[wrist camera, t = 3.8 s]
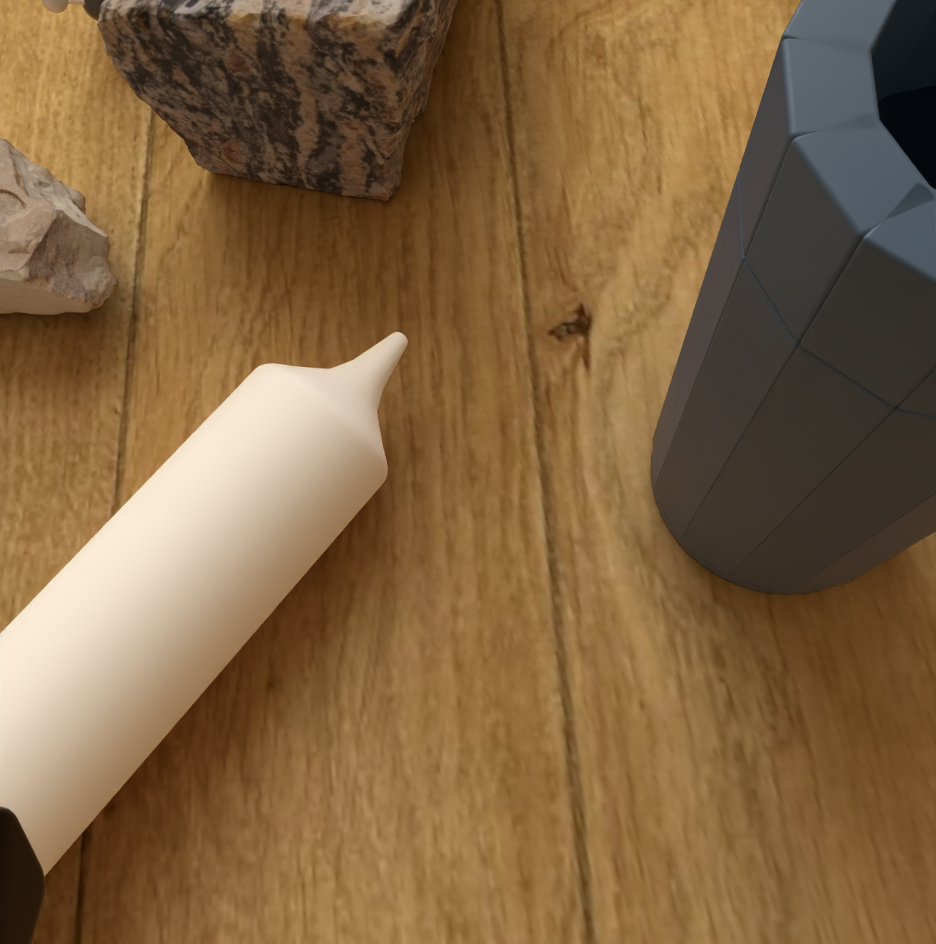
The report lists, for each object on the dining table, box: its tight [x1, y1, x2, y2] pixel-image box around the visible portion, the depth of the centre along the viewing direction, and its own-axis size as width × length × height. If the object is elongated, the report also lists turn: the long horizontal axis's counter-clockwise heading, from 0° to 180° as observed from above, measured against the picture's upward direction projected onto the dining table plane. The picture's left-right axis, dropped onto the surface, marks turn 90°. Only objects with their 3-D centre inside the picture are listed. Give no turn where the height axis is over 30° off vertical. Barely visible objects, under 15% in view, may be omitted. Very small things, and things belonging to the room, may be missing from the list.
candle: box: [0, 332, 408, 877], centre depth 19 cm, size 7×7×25 cm
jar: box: [651, 0, 936, 594], centre depth 16 cm, size 7×7×14 cm
